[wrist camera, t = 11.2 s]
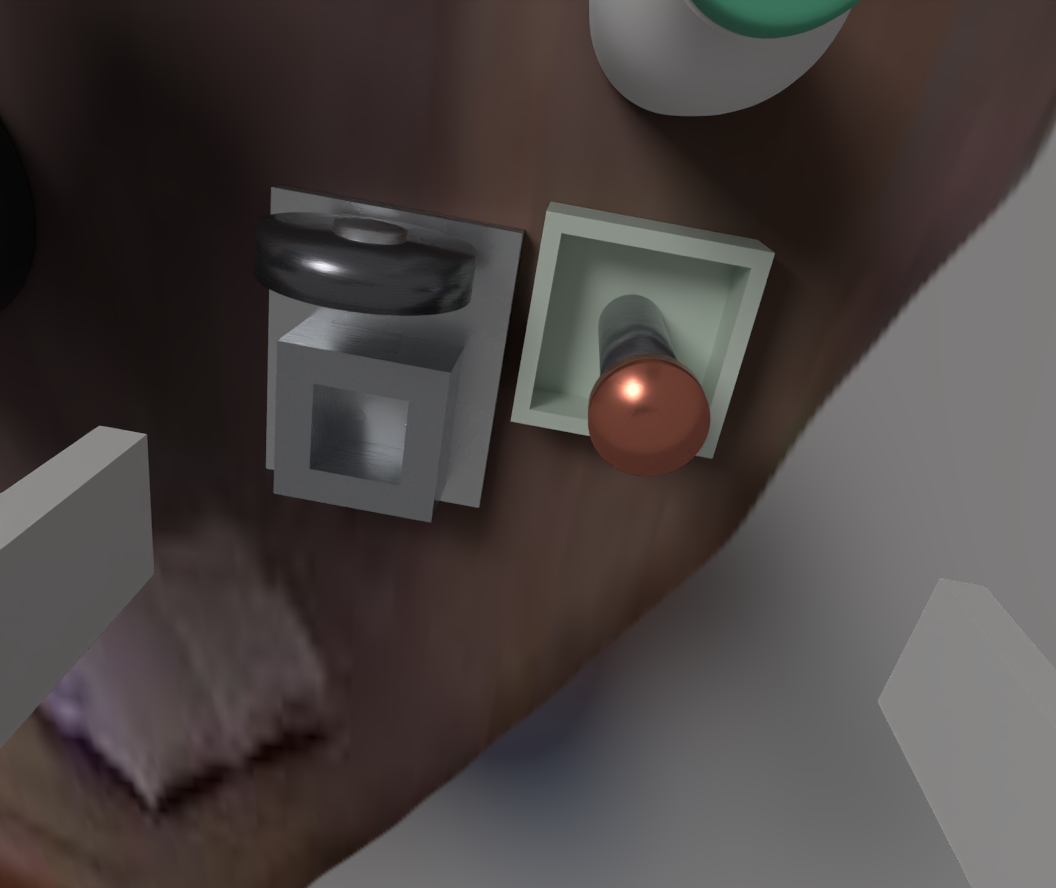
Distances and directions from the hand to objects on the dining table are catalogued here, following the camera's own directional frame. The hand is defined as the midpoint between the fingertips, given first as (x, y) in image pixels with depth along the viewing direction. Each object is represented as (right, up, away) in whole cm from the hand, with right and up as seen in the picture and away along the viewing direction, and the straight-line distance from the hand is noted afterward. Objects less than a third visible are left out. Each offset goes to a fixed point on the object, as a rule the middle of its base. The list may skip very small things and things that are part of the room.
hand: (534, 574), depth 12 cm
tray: (+5, +8, +25) cm, 27 cm away
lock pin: (+5, +8, +24) cm, 26 cm away
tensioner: (-7, +7, +26) cm, 28 cm away
